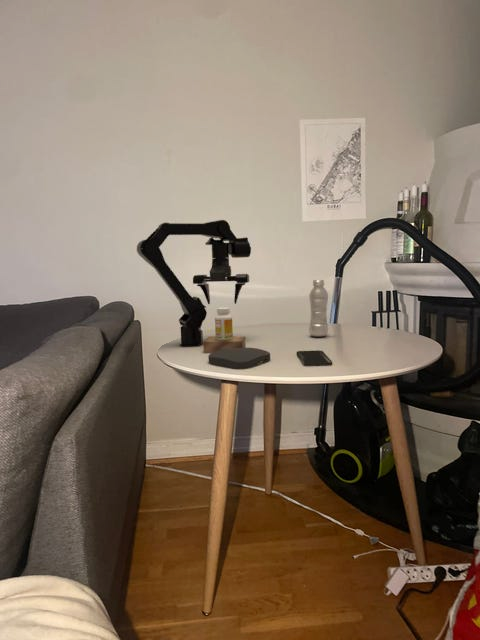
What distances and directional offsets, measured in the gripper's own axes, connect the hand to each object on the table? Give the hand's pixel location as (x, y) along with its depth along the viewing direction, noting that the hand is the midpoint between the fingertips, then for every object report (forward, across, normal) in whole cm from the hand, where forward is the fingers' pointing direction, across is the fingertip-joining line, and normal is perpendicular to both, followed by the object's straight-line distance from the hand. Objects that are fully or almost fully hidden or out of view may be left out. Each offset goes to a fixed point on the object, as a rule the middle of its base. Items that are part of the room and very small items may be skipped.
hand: (222, 304), depth 148 cm
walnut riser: (+13, +3, -14) cm, 20 cm away
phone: (+14, +30, -26) cm, 42 cm away
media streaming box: (+14, +10, -28) cm, 33 cm away
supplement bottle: (+10, +3, -14) cm, 18 cm away
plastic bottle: (+13, +33, +7) cm, 36 cm away
